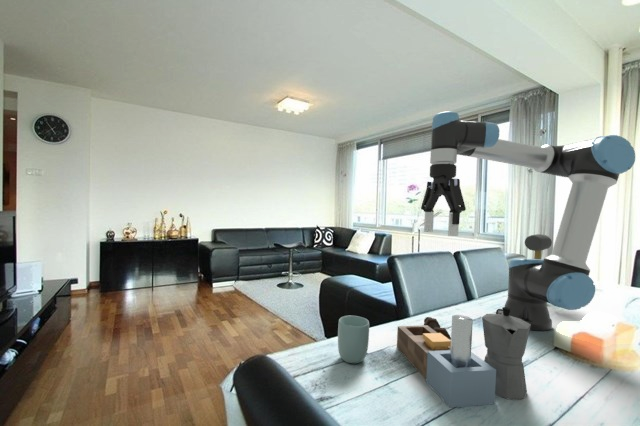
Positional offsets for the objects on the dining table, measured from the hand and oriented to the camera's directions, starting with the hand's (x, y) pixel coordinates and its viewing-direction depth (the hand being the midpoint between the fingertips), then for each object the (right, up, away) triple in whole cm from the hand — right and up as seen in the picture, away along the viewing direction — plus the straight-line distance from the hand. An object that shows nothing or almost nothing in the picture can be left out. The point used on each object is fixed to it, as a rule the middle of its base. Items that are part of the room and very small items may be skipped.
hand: (439, 233), depth 95 cm
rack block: (-7, -32, -29) cm, 44 cm away
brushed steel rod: (-7, -32, -29) cm, 44 cm away
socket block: (-10, -32, -16) cm, 37 cm away
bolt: (-1, -32, +1) cm, 32 cm away
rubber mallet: (+62, -34, +46) cm, 84 cm away
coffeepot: (+4, -33, -25) cm, 42 cm away
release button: (-9, -31, -20) cm, 37 cm away
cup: (-29, -31, -16) cm, 45 cm away
